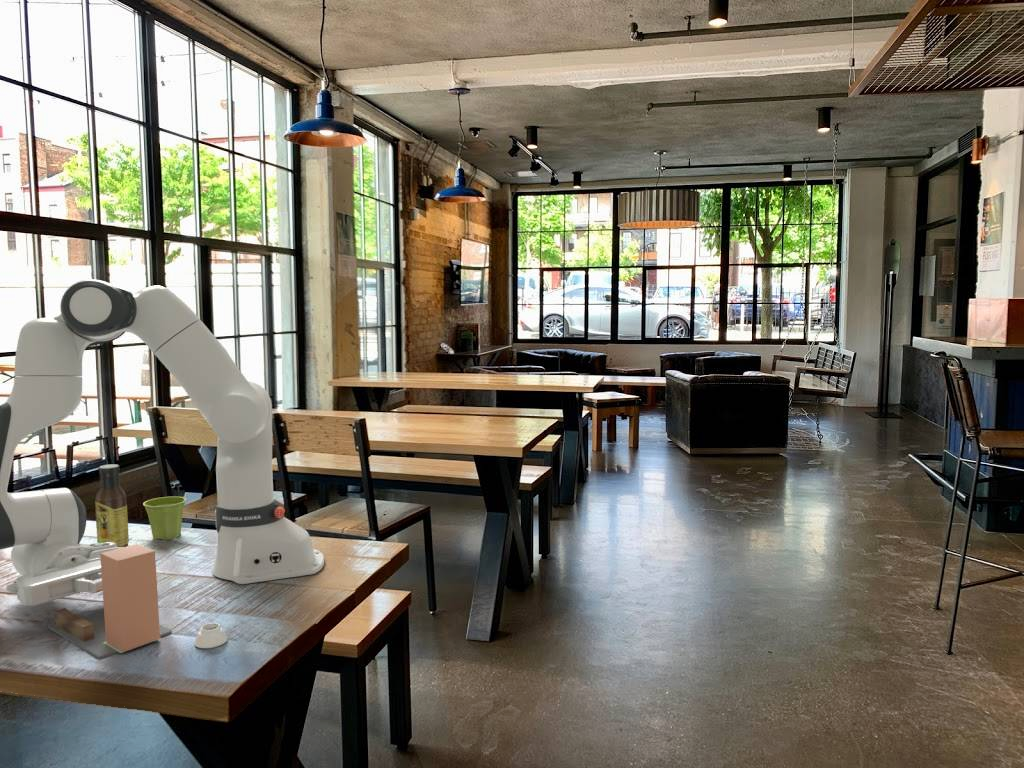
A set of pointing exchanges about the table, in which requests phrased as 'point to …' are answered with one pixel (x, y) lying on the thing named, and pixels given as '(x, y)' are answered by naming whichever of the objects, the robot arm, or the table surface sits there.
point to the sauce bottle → (111, 508)
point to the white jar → (210, 636)
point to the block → (130, 596)
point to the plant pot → (165, 516)
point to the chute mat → (97, 636)
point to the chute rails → (74, 624)
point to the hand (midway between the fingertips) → (102, 586)
